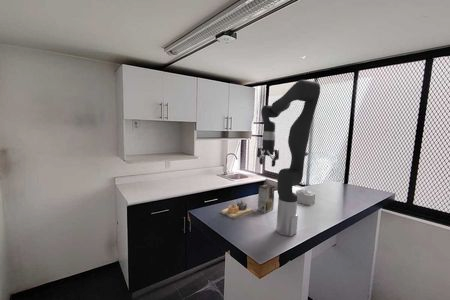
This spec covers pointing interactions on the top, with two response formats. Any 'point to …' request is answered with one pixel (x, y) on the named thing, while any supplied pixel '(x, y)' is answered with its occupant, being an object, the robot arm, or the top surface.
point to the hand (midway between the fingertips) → (267, 165)
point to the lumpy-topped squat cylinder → (305, 197)
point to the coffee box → (266, 198)
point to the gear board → (242, 211)
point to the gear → (233, 209)
